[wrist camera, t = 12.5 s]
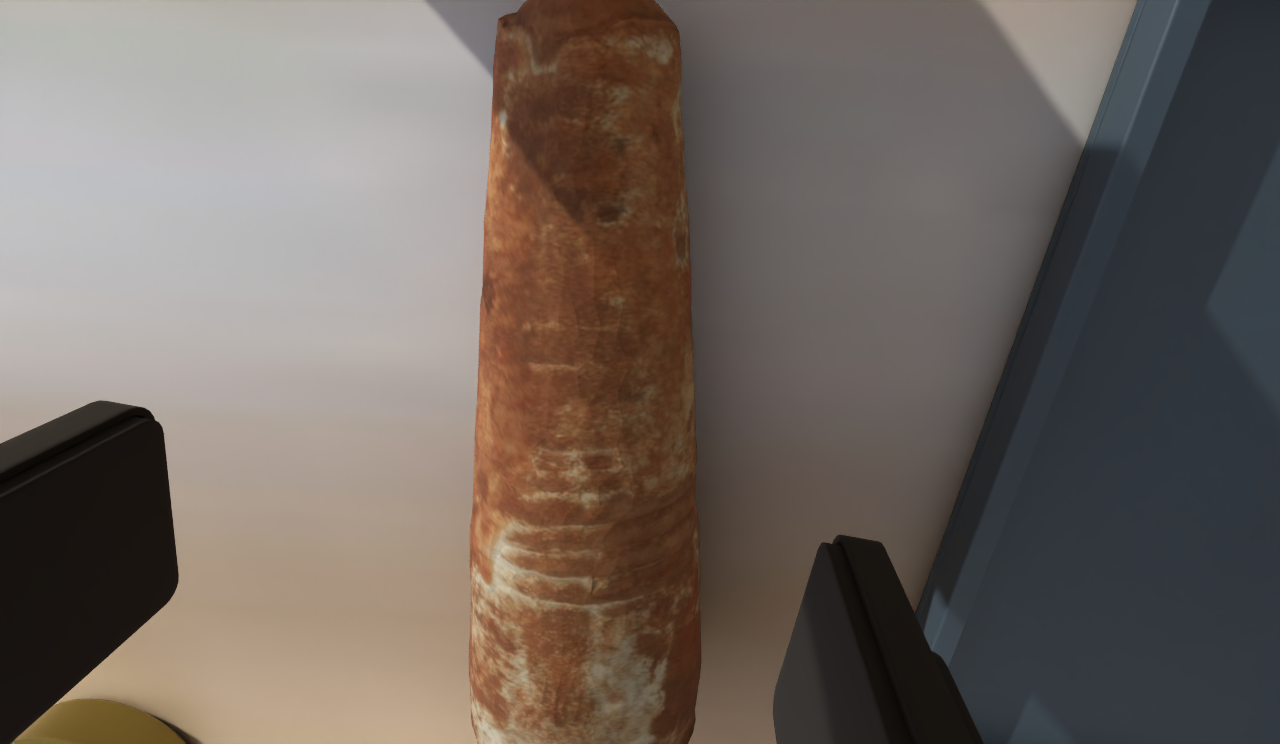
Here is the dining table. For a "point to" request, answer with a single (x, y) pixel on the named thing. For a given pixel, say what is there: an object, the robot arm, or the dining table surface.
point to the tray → (1138, 422)
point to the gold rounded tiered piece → (97, 725)
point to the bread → (585, 388)
